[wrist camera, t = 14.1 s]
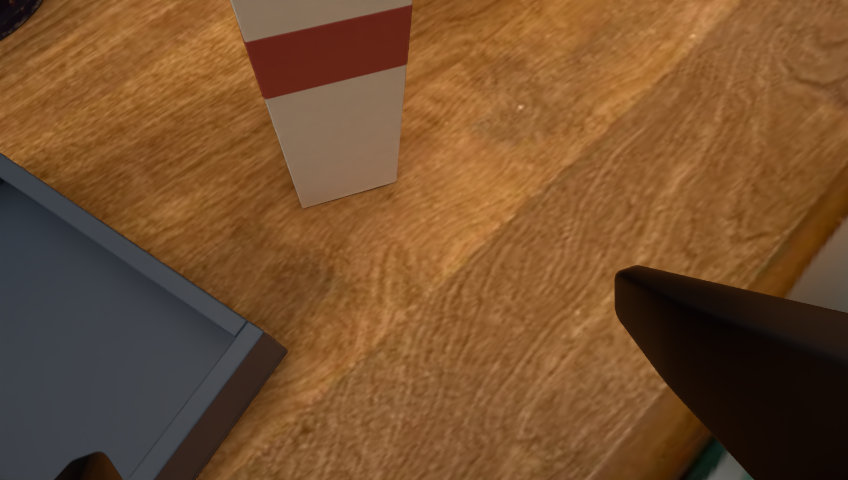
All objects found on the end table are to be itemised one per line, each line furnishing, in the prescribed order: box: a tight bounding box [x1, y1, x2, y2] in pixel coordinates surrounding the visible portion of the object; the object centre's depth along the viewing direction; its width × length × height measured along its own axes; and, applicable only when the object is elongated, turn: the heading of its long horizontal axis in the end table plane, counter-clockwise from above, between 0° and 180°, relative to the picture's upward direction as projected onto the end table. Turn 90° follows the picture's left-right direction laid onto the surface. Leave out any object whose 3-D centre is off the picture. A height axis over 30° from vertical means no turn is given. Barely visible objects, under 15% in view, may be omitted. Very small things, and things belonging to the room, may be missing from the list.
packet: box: [230, 0, 413, 208], centre depth 17 cm, size 5×4×12 cm
